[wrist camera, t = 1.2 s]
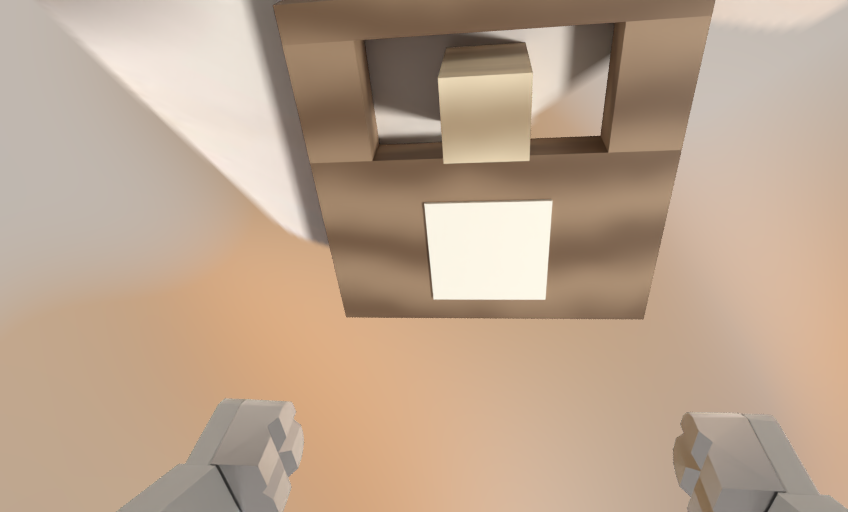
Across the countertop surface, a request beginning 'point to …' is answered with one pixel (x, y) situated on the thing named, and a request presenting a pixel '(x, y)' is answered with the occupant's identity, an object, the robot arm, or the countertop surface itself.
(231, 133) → the countertop surface
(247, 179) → the countertop surface
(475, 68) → the ash block
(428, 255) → the pocket board
